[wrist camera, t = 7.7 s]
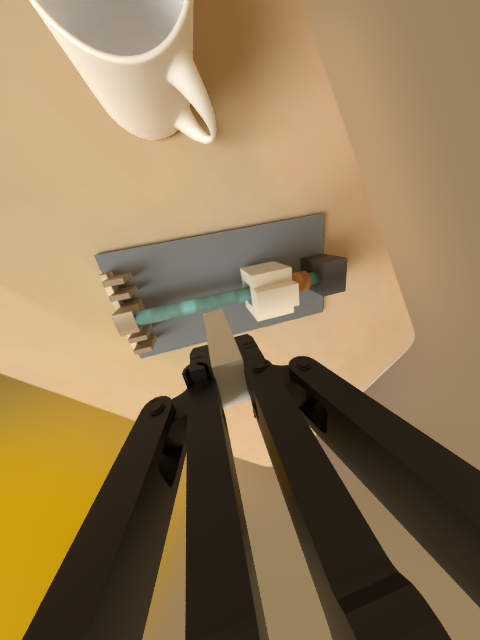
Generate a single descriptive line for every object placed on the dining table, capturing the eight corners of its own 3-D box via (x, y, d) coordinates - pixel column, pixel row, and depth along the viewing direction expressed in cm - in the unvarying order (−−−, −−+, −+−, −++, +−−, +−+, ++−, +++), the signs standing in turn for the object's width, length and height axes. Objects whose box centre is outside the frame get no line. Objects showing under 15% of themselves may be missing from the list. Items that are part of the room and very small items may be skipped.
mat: (96, 254, 23) (94, 255, 22) (321, 213, 27) (324, 213, 26) (141, 356, 29) (140, 358, 28) (320, 310, 32) (322, 311, 32)
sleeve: (239, 268, 25) (255, 278, 19) (273, 261, 26) (298, 269, 20) (246, 306, 27) (261, 327, 21) (276, 299, 28) (299, 317, 22)
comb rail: (107, 271, 24) (82, 282, 18) (317, 230, 27) (349, 229, 22) (139, 343, 28) (126, 369, 23) (317, 299, 32) (344, 313, 26)
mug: (184, 192, 22) (179, 161, 13) (69, 77, 17) (-80, -116, 8) (235, 124, 21) (273, 33, 12) (127, -21, 16) (35, -394, 7)
